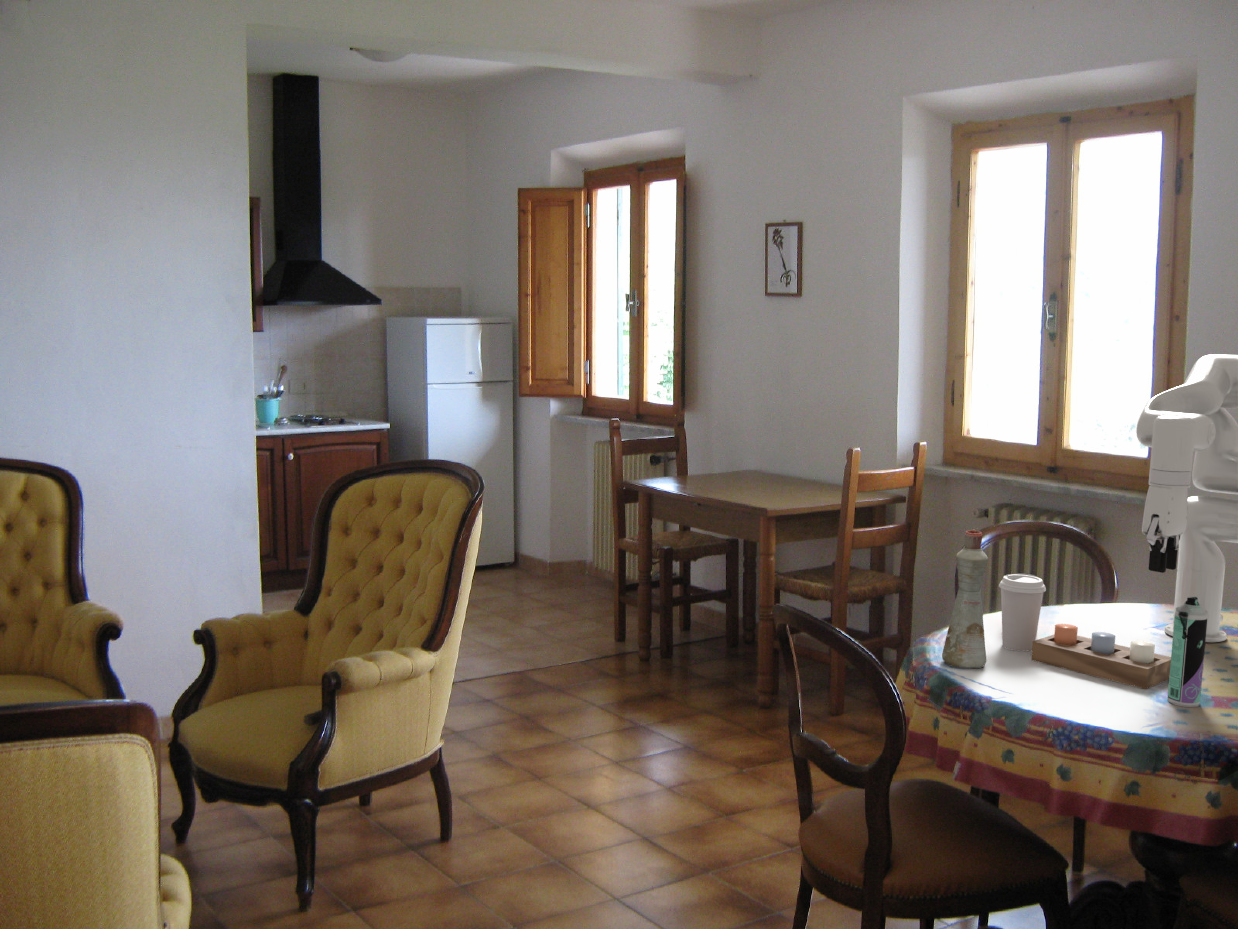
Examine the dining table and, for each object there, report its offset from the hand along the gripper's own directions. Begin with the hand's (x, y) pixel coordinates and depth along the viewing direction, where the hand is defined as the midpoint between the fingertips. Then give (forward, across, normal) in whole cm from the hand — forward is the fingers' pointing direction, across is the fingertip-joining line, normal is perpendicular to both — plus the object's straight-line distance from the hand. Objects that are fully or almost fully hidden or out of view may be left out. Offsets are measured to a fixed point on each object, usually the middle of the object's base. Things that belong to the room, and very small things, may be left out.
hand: (1162, 569), depth 241 cm
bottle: (+21, +26, -27) cm, 43 cm away
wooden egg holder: (+21, +6, -8) cm, 24 cm away
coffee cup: (+21, +5, -27) cm, 35 cm away
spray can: (+21, +14, +12) cm, 28 cm away
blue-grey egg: (+19, +6, -8) cm, 22 cm away
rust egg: (+19, +6, -16) cm, 26 cm away
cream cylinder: (+19, +6, 0) cm, 20 cm away
